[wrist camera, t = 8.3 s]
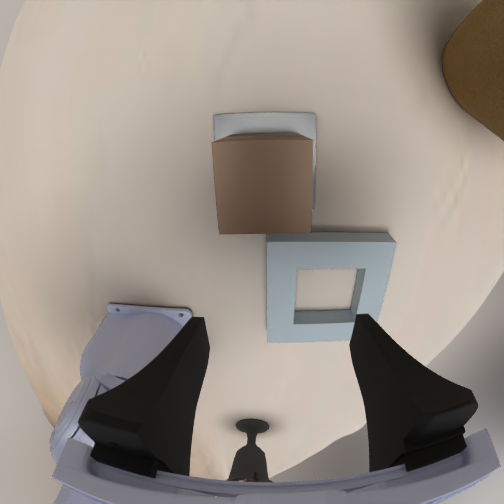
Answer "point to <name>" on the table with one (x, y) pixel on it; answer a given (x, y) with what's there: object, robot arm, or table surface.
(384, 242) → the pocket holder
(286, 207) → the walnut block
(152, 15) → the table surface
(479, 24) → the plant pot
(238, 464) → the sundae
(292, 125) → the plate
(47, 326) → the table surface
